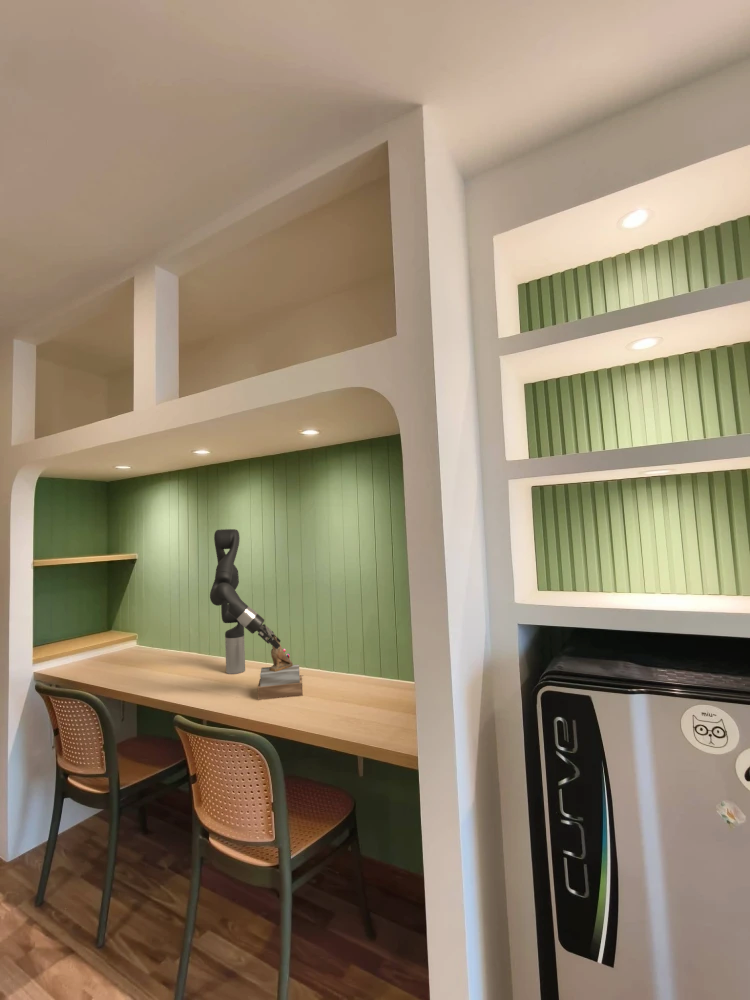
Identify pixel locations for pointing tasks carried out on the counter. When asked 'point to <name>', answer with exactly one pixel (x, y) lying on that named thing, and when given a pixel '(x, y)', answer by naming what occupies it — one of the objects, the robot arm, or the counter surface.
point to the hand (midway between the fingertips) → (278, 644)
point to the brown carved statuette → (279, 658)
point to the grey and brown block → (280, 683)
